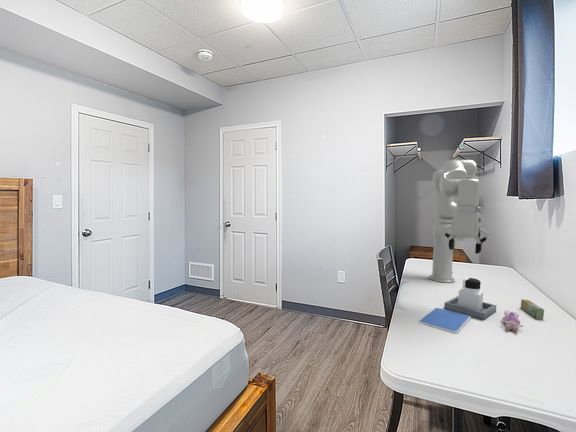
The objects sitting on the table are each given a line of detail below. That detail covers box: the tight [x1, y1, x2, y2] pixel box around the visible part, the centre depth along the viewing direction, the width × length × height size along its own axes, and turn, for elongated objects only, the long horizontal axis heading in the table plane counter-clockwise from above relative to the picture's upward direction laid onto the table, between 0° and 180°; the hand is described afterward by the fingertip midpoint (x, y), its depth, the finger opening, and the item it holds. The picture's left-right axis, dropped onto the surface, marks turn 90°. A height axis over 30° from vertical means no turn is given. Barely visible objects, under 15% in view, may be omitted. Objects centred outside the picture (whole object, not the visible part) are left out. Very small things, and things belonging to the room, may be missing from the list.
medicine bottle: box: [457, 277, 484, 311], centre depth 119 cm, size 7×7×12 cm
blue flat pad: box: [418, 307, 472, 335], centre depth 109 cm, size 19×13×1 cm, turn 137°
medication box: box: [520, 298, 545, 320], centre depth 117 cm, size 12×3×4 cm, turn 165°
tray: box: [443, 295, 498, 321], centre depth 119 cm, size 14×14×2 cm
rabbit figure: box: [500, 310, 524, 334], centre depth 105 cm, size 6×6×15 cm
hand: (464, 251), depth 123 cm, fingers open, 9 cm apart
